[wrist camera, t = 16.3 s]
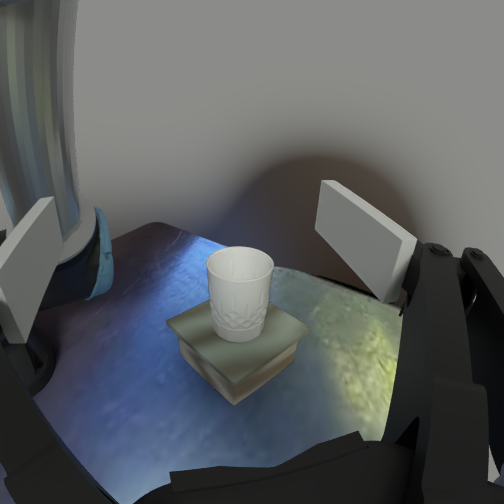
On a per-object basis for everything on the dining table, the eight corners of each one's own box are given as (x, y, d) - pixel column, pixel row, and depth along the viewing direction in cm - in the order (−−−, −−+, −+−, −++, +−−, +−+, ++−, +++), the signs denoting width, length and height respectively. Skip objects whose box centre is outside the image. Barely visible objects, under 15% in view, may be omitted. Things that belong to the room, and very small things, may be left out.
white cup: (199, 317, 44) (196, 254, 39) (248, 301, 47) (251, 241, 43) (225, 354, 38) (225, 288, 33) (278, 334, 42) (287, 270, 37)
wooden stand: (171, 354, 46) (166, 320, 43) (239, 317, 55) (240, 284, 51) (233, 414, 38) (233, 383, 34) (302, 361, 46) (310, 327, 43)
